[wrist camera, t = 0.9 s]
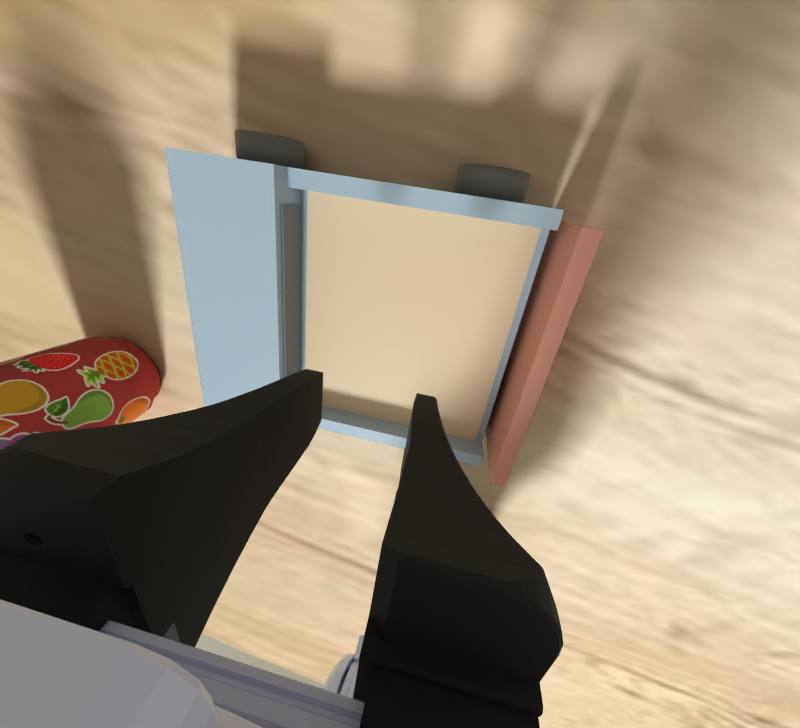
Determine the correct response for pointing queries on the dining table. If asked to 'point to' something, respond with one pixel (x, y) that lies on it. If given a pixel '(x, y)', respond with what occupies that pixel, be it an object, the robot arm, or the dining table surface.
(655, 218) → the dining table surface
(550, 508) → the dining table surface
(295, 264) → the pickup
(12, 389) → the smoothie
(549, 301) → the tailgate
